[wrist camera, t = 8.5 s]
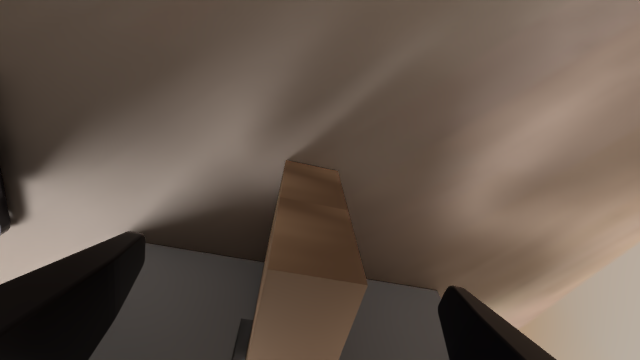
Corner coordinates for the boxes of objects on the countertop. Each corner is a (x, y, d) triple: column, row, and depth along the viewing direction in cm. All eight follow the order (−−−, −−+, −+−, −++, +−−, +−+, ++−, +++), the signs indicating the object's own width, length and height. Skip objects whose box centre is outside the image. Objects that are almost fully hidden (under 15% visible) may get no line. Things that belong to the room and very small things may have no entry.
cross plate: (240, 371, 16) (206, 543, 10) (285, 159, 11) (267, 269, 6) (278, 375, 16) (265, 545, 11) (337, 171, 12) (367, 284, 6)
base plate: (119, 283, 13) (-13, 453, 8) (118, 238, 12) (-32, 394, 7) (418, 326, 15) (482, 487, 10) (436, 290, 14) (519, 444, 9)
